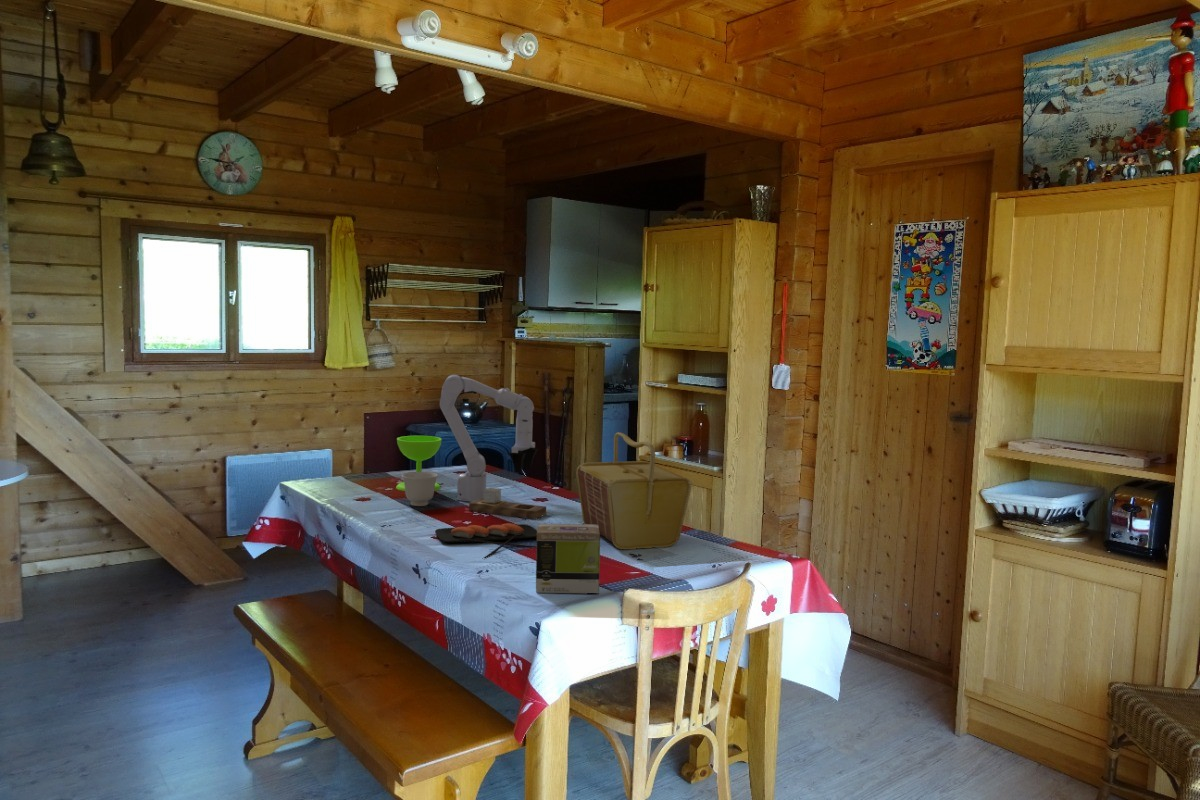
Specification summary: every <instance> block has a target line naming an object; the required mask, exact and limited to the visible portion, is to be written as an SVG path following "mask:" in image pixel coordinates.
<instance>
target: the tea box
mask: <svg viewBox="0 0 1200 800" xmlns="http://www.w3.org/2000/svg"><path fill="white" fill-rule="evenodd" d="M536 531H537V537H536V546H537V548H536V550H535V551H536V552H535V553H536V558H535V561H536V563H535V564H536V565H535V592H536V593H537V594H538V593H539V594H540V593H541V594H587V593H599V594H600V568H601V567H600V565H601V563H600V562H601V560H600V559H601V557H600V556H601V555H600V554H601V534H600V532H599V525H598V524H584V523H538V524H537V530H536Z"/></svg>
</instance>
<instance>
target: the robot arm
mask: <svg viewBox="0 0 1200 800" xmlns="http://www.w3.org/2000/svg"><path fill="white" fill-rule="evenodd" d="M462 392H463V393H468V392H475V393H477V394H481V395H484V396H486V397H489V398H492V399H494V401H495V403H496V405H499V406H502V407H504V408H507V409H510V410H512V411H516V418H515V443H514V445H513V446H511V451H509V452H508V454H509V457H510V458H511V461H512V465H513V469H514V470H513V471H514V473H518V474H521V473H522V470H523V469H525V470H531V469H532V466H533V462H534V458H535V456H536V454H537V452H538V448H536V442H535V441H533V427H534V426H533V423H534V420H533V416H534V415H533V412H534V411H535V406H534V403H533V401H532V400H531V399H530V398H529V397H527V396H526V395H524V394H522V393H519V394H518V393H516V392H513V391H511V389H510V388H508V387H506V388H503V387H502V388H500V389H496V388H493V387H491V386H489V385H486V384H484V383H482V382H480V381H477V380H476V379H473V378H469V377H465V376H460V375H458V374H450V375H448V377H446V379H445V381H444V382H443V384H442V387H441V394H440V399H439V408H440V410H441V412H442V414H443V416H444V418H445V419H446V421H447V423H448V426H449V428H450V430H451V431H452V434H453V435H454V438H455V440H456V442H457V444H458V445H459V448H460V450H461V451H462V454H463V456H464V459H465V461H466V469H467V471H465V473H463V472H462V473H461V474H459V476H458V479H457V489H456V490H457V492H456V493H457V495H456V496H457V497H456V498H455V499H456V501H462V502H469V503H470V502H473V501H476V500H478V499H484V490H485V489H487V472H486V469H487V468H486V467H487V463H486V459H485V457H484V456H483V455H482V454H481V453H480V452H479V451H478V449H477V447H476V445H475V444H474V441H473V440H472V438H471V436H470V434H469V431H468V430H467V428H466V426H465V424H464V422H463V420H462V418H461V416H460V414H459V412H458V410H457V408H456V406H455V404H456V401H457V398H458V397H459V395H460V394H461V393H462ZM523 466H524V468H523Z"/></svg>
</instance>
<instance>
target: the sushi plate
mask: <svg viewBox="0 0 1200 800" xmlns="http://www.w3.org/2000/svg"><path fill="white" fill-rule="evenodd" d="M434 532H435V535H436V537H437V538H439V540H440V541H441V542H444V543H454V542H460V543H475V542H476V543H477V542H478V543H485V544H487V543H488V544H494V545H499V546H498V547H497V548H495V549H494V550H493V551H491V552H489V553H488V554H487V555H484V557H483V558H486V557H487V558H489V557H491V556H492V554H493V555H494V554H495V553H497V552H498V551H499V550H500V549H501V548H502V547H504V546H510V547H517V548H518V547H519V548H532V547H537V545H527V544H517V543H516V544H515V543H509V542H510V541H512V539H513V540H525V539H532V538H537V530H536V529H535V528H534V527H533V526H532V525H529V524H523V523H522V524H521V523H520V524H517V523H516V524H515V523H509V522H507V523H503V524H492V525H478V524H477V525H476V524H472V525H471V524H470V525H467V526H458V527H445V528H436V529H435V531H434ZM498 541H505V542H498ZM490 555H491V556H490ZM488 556H489V557H488ZM487 558H486V559H487Z"/></svg>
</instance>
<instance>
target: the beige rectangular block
mask: <svg viewBox="0 0 1200 800" xmlns="http://www.w3.org/2000/svg"><path fill="white" fill-rule="evenodd" d="M501 501H502V489H501V488H497V487H496V488H494V487H488V488H486V489H485V490H484V503H486V504H494V505H495V504H498V503H500V502H501Z"/></svg>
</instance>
